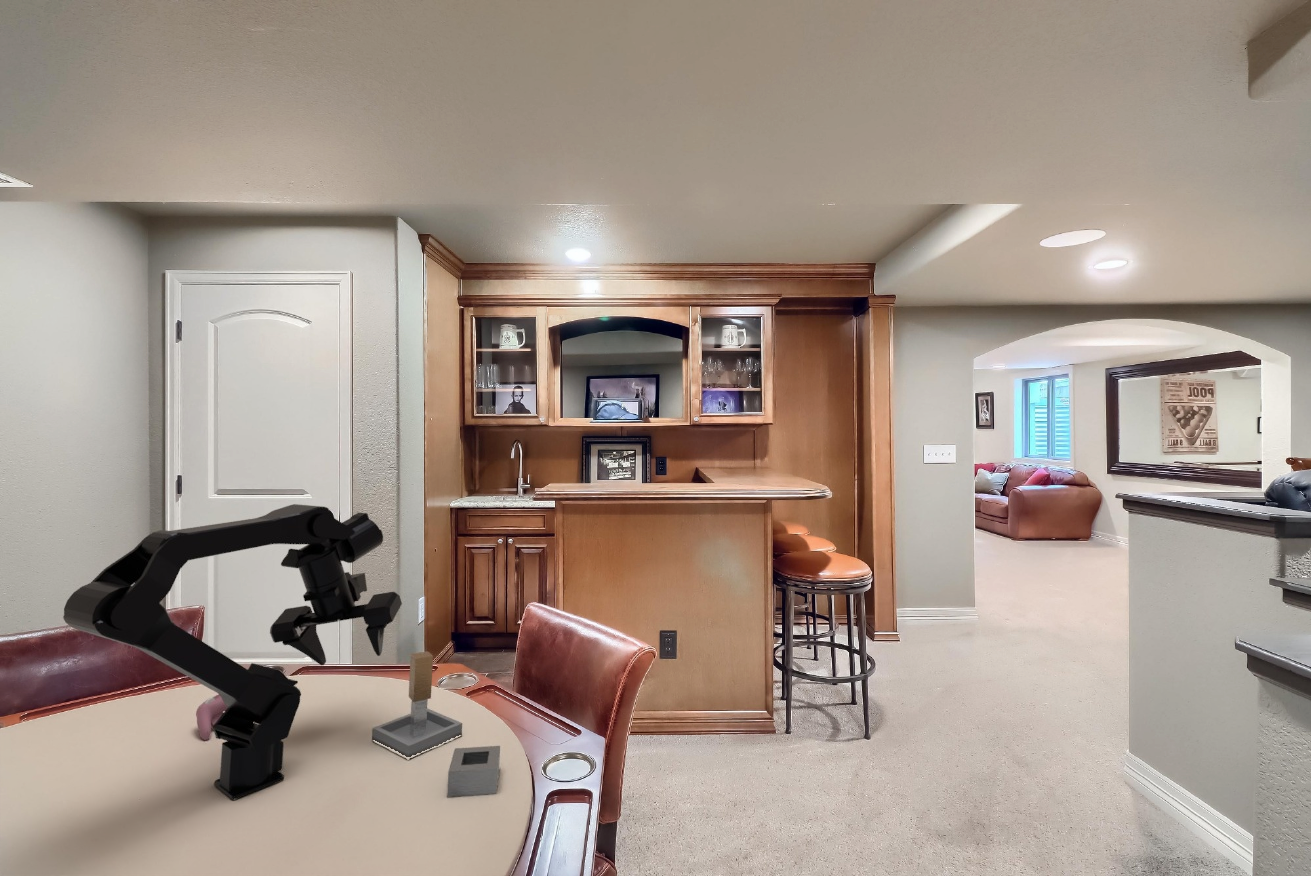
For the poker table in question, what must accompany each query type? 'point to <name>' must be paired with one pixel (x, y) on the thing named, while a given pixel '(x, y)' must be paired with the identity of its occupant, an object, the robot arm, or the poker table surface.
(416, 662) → the wooden handled tool
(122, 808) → the poker table surface
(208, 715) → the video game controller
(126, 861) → the poker table surface
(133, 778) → the poker table surface
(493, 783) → the block
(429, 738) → the tool tray
